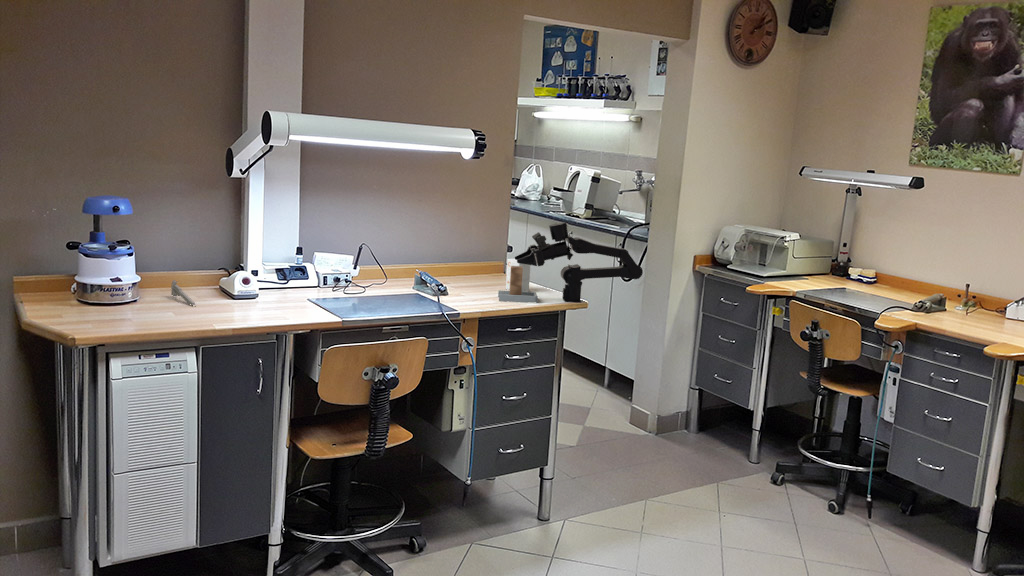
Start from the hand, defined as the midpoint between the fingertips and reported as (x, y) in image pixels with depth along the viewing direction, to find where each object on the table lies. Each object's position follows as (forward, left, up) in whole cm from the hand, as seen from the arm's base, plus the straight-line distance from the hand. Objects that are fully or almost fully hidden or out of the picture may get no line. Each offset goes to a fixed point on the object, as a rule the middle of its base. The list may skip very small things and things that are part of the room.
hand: (515, 259), depth 328 cm
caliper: (+118, +33, -16) cm, 123 cm away
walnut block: (0, +2, -16) cm, 16 cm away
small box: (-2, -18, -16) cm, 24 cm away
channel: (-1, +2, -16) cm, 16 cm away
